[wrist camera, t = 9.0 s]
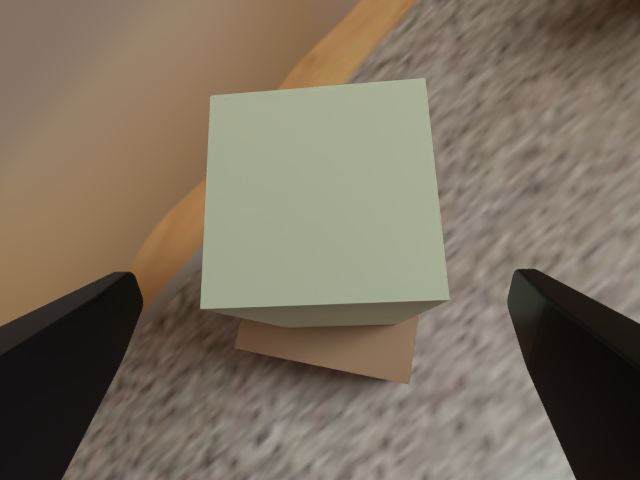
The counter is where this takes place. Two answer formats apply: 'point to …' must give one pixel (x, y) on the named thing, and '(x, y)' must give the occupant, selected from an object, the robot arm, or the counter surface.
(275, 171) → the sage block
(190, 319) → the counter surface
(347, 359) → the walnut slab
